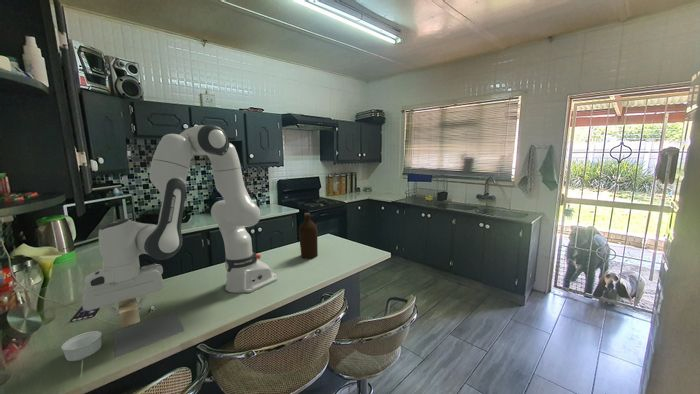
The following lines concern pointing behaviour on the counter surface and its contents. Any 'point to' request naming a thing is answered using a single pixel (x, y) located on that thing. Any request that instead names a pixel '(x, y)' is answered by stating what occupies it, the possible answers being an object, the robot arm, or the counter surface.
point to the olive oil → (308, 238)
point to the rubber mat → (146, 333)
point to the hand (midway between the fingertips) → (128, 311)
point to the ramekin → (82, 345)
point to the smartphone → (84, 314)
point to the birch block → (128, 312)
